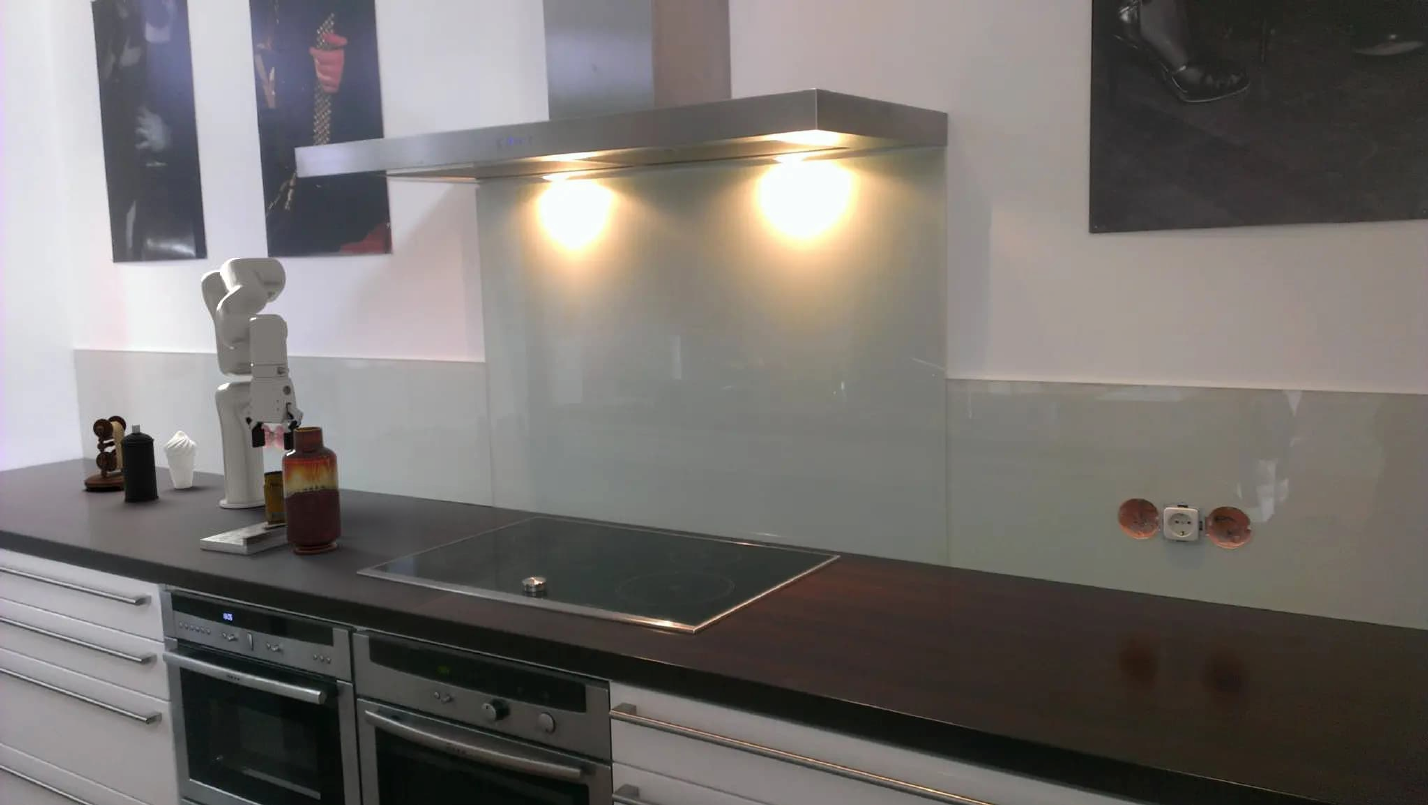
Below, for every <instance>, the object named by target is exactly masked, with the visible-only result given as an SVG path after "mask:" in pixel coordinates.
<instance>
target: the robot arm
mask: <svg viewBox="0 0 1428 805" xmlns="http://www.w3.org/2000/svg"><path fill="white" fill-rule="evenodd" d="M286 279H287V276H286V271H285V268H284V266H283V264H282V263H281V262H280V261H279V260H278V259H277V258H275V257H235V258H231V259H229V260H227V261H226V262H224V264H222V266H221V268H220V269H218V270H212V271H209V272H207V273H205V274H204V275H202V278H201V282H200V283H201V285H200V286H201V293H202V297H203V298H202V299H203V301H204V304H205V306H206V308H207V310H208V312H209V314H210V316H211V319H212V321H213V326H214V332H215V333H214V335H215V336H214V337H215V345H216V346H215V347H216V355H217V362H218V367H219V370H220V372H221V374H223V375H224V376H227V377H251V379H250V380H249V381H248V380H247V381H232V382H228V383H225V384H222V385H220V386H219V387H218V388H217V389H216V391H215V394H214V402H215V406H216V411H217V414H218V415H217V416H218V420H219V425H220V426H219V427H220V433H221V443H222V444H221V446H222V447H221V448H222V459H223V473H224V475H223V476H224V490H225V498H223V499H221V500H219V507H221V508H225V509H248V508H254V507H255V508H256V507H259V506H265V498H264V489H263V486H264V484H265V481H264V480H265V478H264V473H265V462H264V447H265V446H266V430H265V428H263V426H264V424H275V425H276V424H277V425H278V424H280V425H281V427H282V428H283V430H284V431H285V432H283V434H282V435H283V449H284V450H285V451H290V450H292V449H293V448H294V438H293V430H294V429H296V428H300V427H301V425H302V420H303V418H304V412H303V411H302V410H300V409H299V408H298V407H297V399H296V398H297V397H296V392H295V388H294V384H293V380H292V377H289V373H290V368H289V364H288V363H289V362H288V347H287V339H288V335H289V334H288V333H289V330H288V325H287V322H286V321H285V319H284V318H283V317H282V316H281V315H279V314H275V313H274V314H273V313H266V314H265V313H264V314H263V313H262V314H259V313H260V312H262V311H263V309H265V307H266V306H267V304H268V303H273V302H275V301H276V299H277V298H278V297H279V296H280V295H281V294H282V293H283V291H284V289H285V287H286V284H287V283H286V282H287V281H286Z"/></svg>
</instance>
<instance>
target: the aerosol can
mask: <svg viewBox="0 0 1428 805" xmlns="http://www.w3.org/2000/svg"><path fill="white" fill-rule="evenodd" d="M154 441H155V438H152V436H151V435H149V434H147V433H143V432H141V424H138V423H137V424H132V425H131V432H130V433H129V434H125V437H124V438H123V439H122V440H121V441H120V442H119V443H120V444H121V454H122V467H123V479H124V490H123V492H124V499H123V501H124V502H125V503H143V502H144V503H145V502H149V501H150V500H151V501H154V500H157V499H159V497H160V496H159V494H158V485H157V483H158V482H157V473H156V472H157V469H156V458H155V446H154Z"/></svg>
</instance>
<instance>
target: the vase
mask: <svg viewBox="0 0 1428 805" xmlns="http://www.w3.org/2000/svg"><path fill="white" fill-rule="evenodd" d="M323 433H324V432H323V427H321V426H303V427H299V428H296V429H294V430H293V438H294V448H293V449H292V450H287V452H285V454H284V455H283V456H282V459H281V469H282V470H281V471H282V475H283V491H284V506H285V521H286V534H287V540H288V541H289V543H291V544H294V546H293V547H292V550H291V551H292V552H293V553H294V554H297V555H318V554H324V553H330V552H332V551H335V550H336V549H338V544H337V543H336V542H335V541H336V540H338V539H339V538H340V537H341V535H342V520H341V518H342V517H341V516H342V515H341V502H340V499H341V498H340V483H339V481H340V480H339V468H338V466H339V464H338V456H337V454H336V453H335V452H334V450H333V449H331V448H329V447H326V446H325V444H324V434H323Z"/></svg>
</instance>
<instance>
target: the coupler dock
mask: <svg viewBox="0 0 1428 805" xmlns="http://www.w3.org/2000/svg"><path fill="white" fill-rule="evenodd" d="M264 525H267V526H264ZM289 543H290V542H289V541H288V540H287V534H286V523H284V524H276V525H268V522H267V521H264V522H259V523H257V524H253V525H249V526H246V527H242V528H238V529H235V530H230V531H226V532H223V533H219V534H215V535H212V536H211V535H210V536H208V537H203V538H201V539H199V546H200V547H199V549H201V550H209V551H216V552H224V553H230V554H238V555H246V556H247V555H251V554H254V553H258V552H262V551H266V550H268V549H272V548H275V546H276V547H279V546H282V545H286V544H289Z"/></svg>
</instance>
